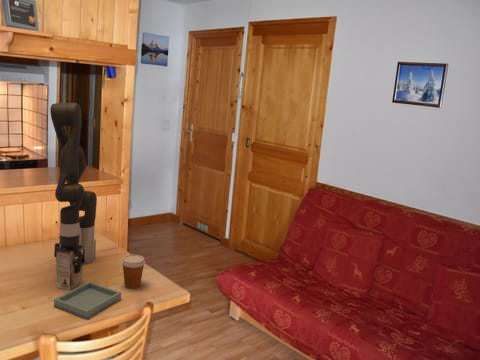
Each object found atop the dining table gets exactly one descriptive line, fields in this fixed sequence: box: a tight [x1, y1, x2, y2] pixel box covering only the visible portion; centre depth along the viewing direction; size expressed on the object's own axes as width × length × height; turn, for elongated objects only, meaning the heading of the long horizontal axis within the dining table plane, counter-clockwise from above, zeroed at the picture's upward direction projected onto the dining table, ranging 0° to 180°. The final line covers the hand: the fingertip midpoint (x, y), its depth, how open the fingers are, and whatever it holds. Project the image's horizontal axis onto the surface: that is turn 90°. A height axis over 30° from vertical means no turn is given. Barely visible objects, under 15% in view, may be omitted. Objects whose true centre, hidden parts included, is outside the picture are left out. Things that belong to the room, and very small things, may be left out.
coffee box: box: [55, 245, 83, 291], centre depth 179 cm, size 9×6×16 cm
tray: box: [53, 281, 122, 320], centre depth 168 cm, size 18×16×3 cm
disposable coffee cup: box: [121, 254, 146, 290], centre depth 184 cm, size 10×10×12 cm
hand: (69, 270), depth 180 cm, fingers open, 8 cm apart
